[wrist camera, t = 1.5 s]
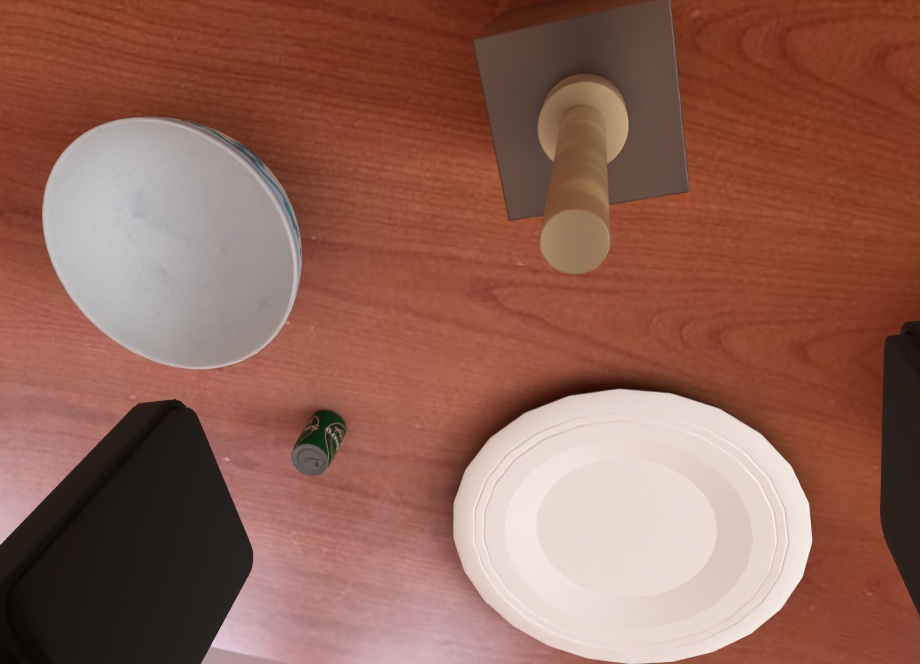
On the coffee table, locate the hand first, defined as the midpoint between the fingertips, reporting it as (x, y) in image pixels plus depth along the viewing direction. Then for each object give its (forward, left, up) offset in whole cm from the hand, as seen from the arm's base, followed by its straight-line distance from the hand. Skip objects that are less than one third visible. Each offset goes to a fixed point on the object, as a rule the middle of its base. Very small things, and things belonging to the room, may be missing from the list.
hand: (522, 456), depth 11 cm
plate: (+2, +33, -38) cm, 50 cm away
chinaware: (+24, +5, -38) cm, 45 cm away
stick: (0, +1, -25) cm, 25 cm away
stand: (0, +1, -37) cm, 37 cm away
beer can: (+22, +22, -38) cm, 48 cm away
